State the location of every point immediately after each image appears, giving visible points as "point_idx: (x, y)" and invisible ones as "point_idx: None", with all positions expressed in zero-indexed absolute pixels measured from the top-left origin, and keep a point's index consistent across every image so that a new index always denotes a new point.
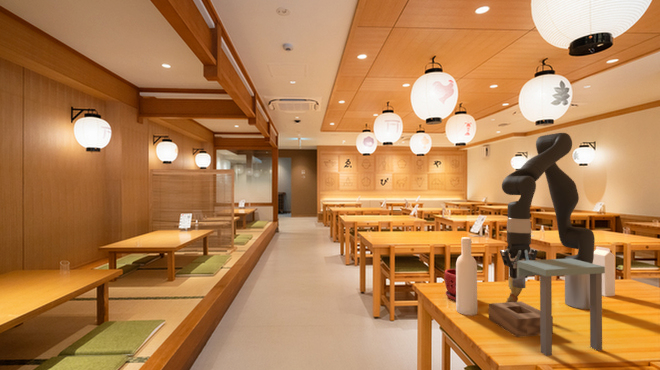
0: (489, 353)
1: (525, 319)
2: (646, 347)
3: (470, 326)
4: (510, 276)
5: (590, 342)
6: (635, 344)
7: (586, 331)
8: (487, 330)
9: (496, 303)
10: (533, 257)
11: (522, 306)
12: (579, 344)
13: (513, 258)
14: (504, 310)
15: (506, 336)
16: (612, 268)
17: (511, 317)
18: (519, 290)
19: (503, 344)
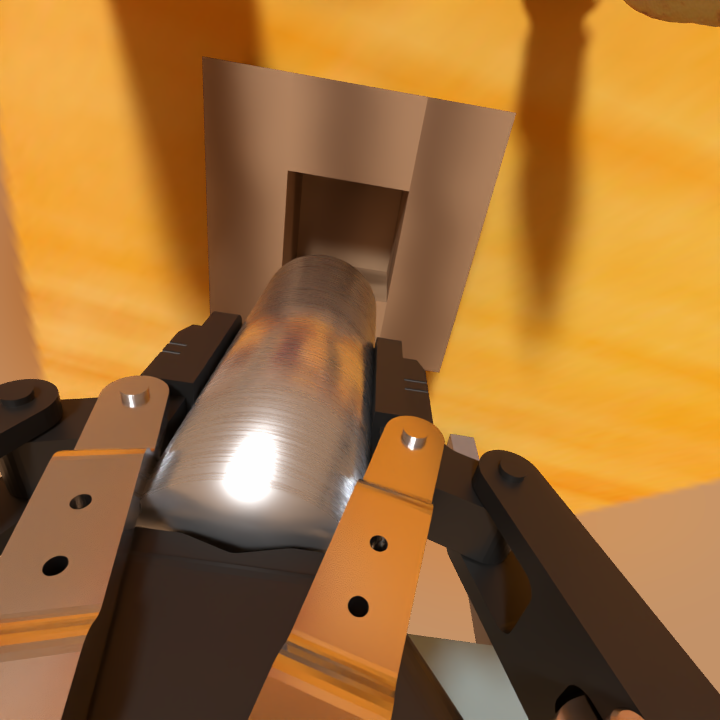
0: (41, 350)
1: None
2: (631, 487)
3: (65, 117)
4: (213, 314)
5: (452, 446)
6: (628, 469)
7: (603, 359)
8: (140, 194)
9: (271, 79)
10: (524, 686)
11: (419, 204)
12: (437, 411)
13: (147, 518)
14: (231, 218)
15: (197, 276)
16: None
17: (212, 298)
18: (645, 8)
19: (136, 321)
